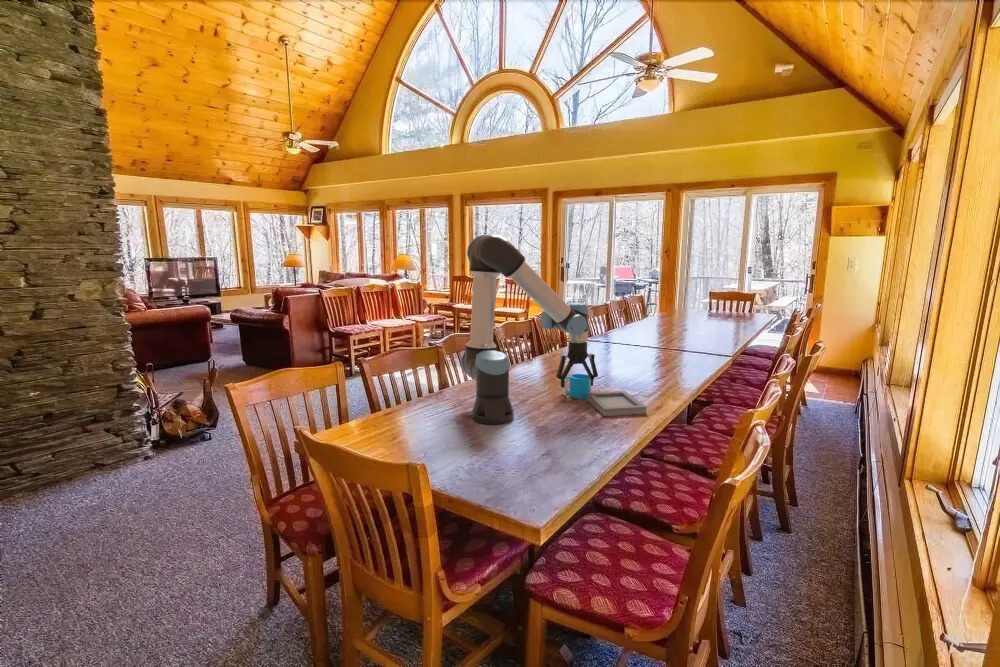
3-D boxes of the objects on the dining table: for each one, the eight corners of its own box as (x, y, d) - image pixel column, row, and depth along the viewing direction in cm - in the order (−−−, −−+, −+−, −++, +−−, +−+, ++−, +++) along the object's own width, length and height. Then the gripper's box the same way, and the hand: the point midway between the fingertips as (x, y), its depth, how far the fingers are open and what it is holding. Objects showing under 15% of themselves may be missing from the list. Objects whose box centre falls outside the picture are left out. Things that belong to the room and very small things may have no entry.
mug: (592, 394, 205) (593, 375, 203) (584, 399, 198) (585, 380, 197) (566, 390, 211) (566, 371, 210) (557, 395, 205) (558, 375, 203)
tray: (604, 416, 179) (604, 409, 178) (586, 399, 198) (586, 393, 198) (646, 413, 181) (646, 406, 181) (624, 397, 201) (624, 391, 200)
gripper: (553, 343, 196) (552, 398, 200) (607, 341, 199) (605, 395, 203) (548, 340, 203) (548, 392, 207) (601, 338, 206) (599, 390, 210)
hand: (576, 394), depth 205 cm, fingers open, 10 cm apart
